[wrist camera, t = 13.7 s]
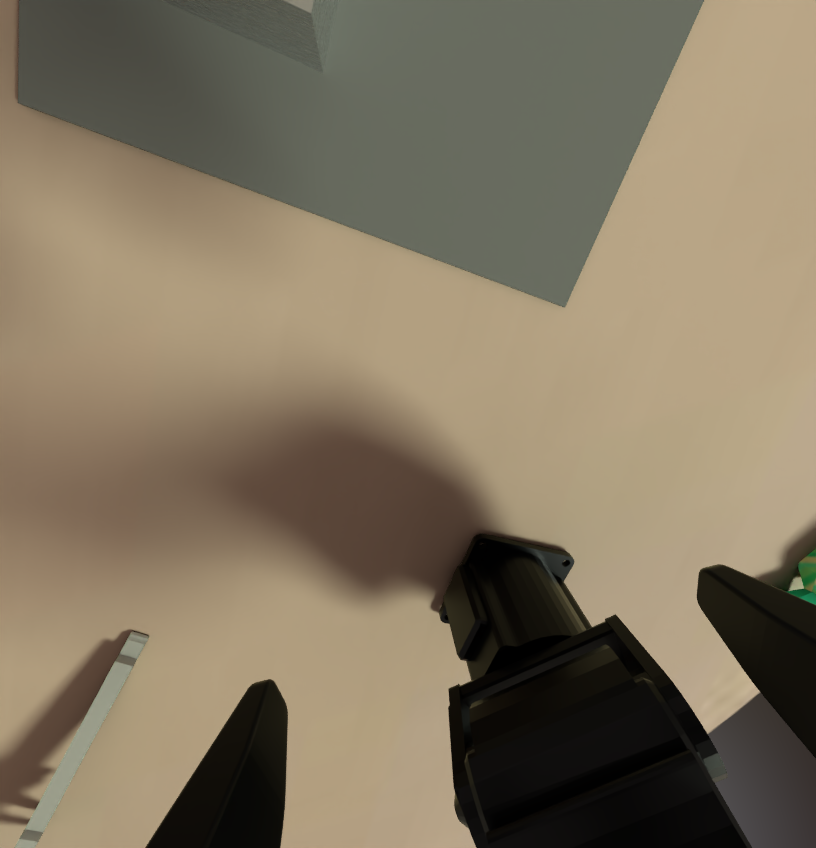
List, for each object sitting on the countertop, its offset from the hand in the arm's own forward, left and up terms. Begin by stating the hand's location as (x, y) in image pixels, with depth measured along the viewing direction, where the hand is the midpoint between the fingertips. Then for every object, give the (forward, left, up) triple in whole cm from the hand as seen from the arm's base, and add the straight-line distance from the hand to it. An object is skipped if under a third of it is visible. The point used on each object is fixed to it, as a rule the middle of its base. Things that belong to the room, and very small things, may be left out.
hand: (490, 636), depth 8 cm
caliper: (+13, +27, -14) cm, 33 cm away
